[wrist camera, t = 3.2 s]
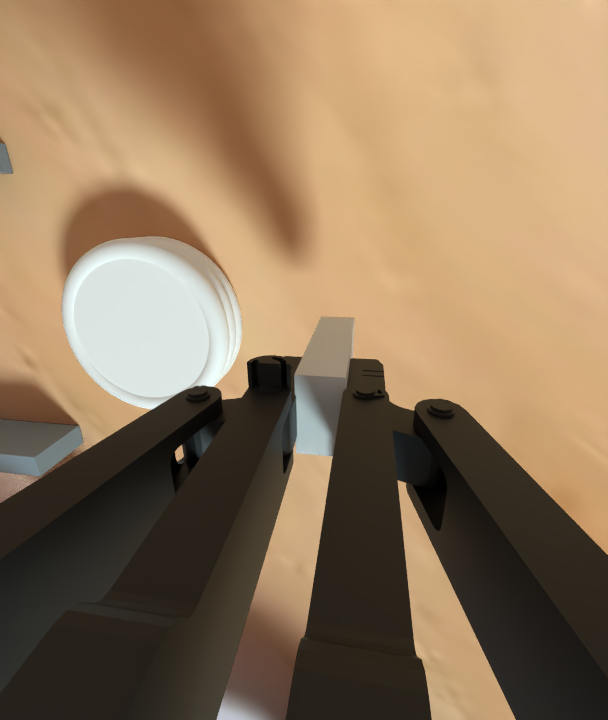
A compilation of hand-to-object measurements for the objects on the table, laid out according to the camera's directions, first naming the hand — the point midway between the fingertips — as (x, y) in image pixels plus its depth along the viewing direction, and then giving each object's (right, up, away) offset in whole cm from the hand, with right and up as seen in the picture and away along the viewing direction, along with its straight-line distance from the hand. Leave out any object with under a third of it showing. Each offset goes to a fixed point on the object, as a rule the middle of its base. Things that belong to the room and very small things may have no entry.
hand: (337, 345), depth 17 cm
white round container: (-10, +2, +7) cm, 12 cm away
